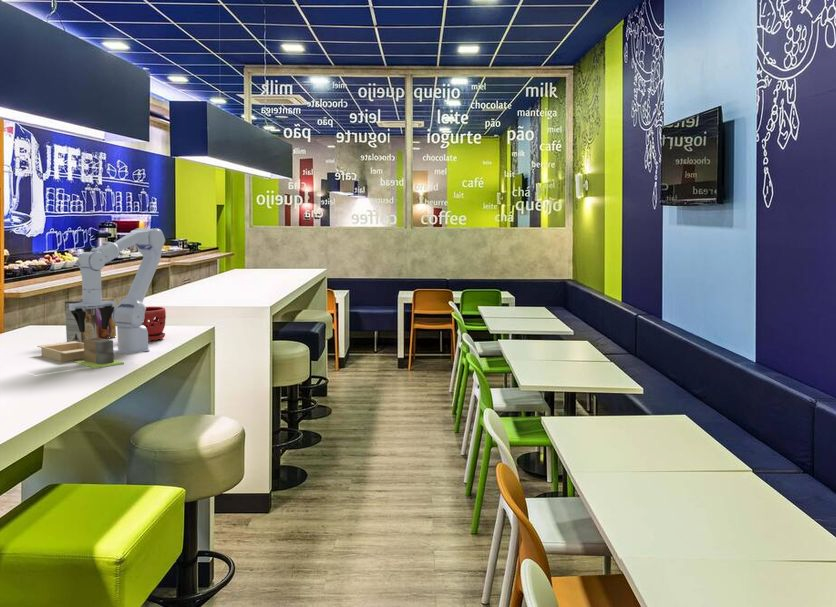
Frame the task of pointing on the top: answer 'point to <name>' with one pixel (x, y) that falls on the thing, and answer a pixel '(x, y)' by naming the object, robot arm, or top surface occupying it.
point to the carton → (63, 351)
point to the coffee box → (72, 325)
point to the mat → (94, 365)
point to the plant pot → (155, 322)
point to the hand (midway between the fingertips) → (93, 330)
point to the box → (98, 351)
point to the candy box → (111, 325)
